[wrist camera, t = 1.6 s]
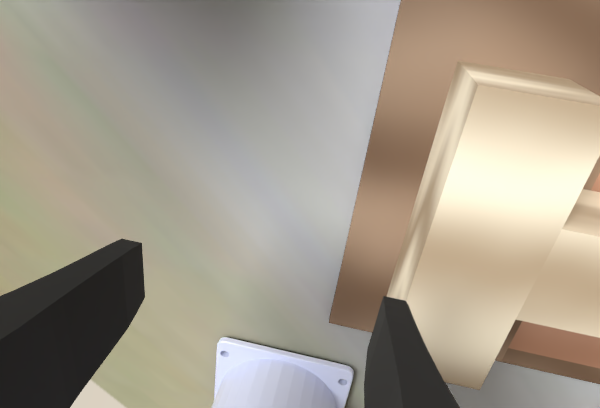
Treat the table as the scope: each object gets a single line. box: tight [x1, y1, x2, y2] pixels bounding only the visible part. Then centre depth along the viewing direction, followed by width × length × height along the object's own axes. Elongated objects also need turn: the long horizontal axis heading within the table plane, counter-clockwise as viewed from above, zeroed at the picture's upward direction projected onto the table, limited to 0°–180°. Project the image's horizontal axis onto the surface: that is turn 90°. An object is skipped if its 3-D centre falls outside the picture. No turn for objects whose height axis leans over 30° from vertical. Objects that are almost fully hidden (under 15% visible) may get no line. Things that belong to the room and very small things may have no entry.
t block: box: [387, 61, 600, 390], centre depth 17 cm, size 12×12×4 cm
